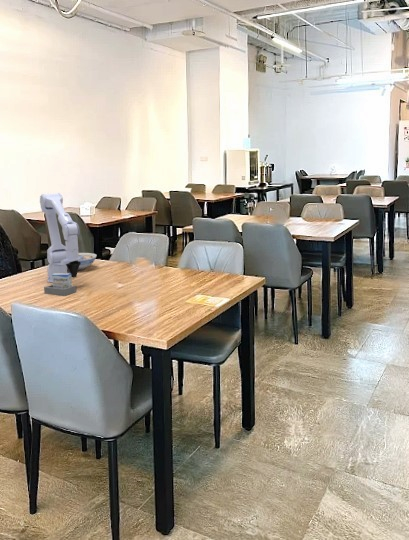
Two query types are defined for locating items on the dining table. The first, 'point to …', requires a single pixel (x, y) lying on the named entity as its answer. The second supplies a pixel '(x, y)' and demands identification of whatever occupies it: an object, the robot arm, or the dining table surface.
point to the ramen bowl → (86, 260)
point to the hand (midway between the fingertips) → (73, 277)
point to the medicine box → (62, 280)
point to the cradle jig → (59, 290)
